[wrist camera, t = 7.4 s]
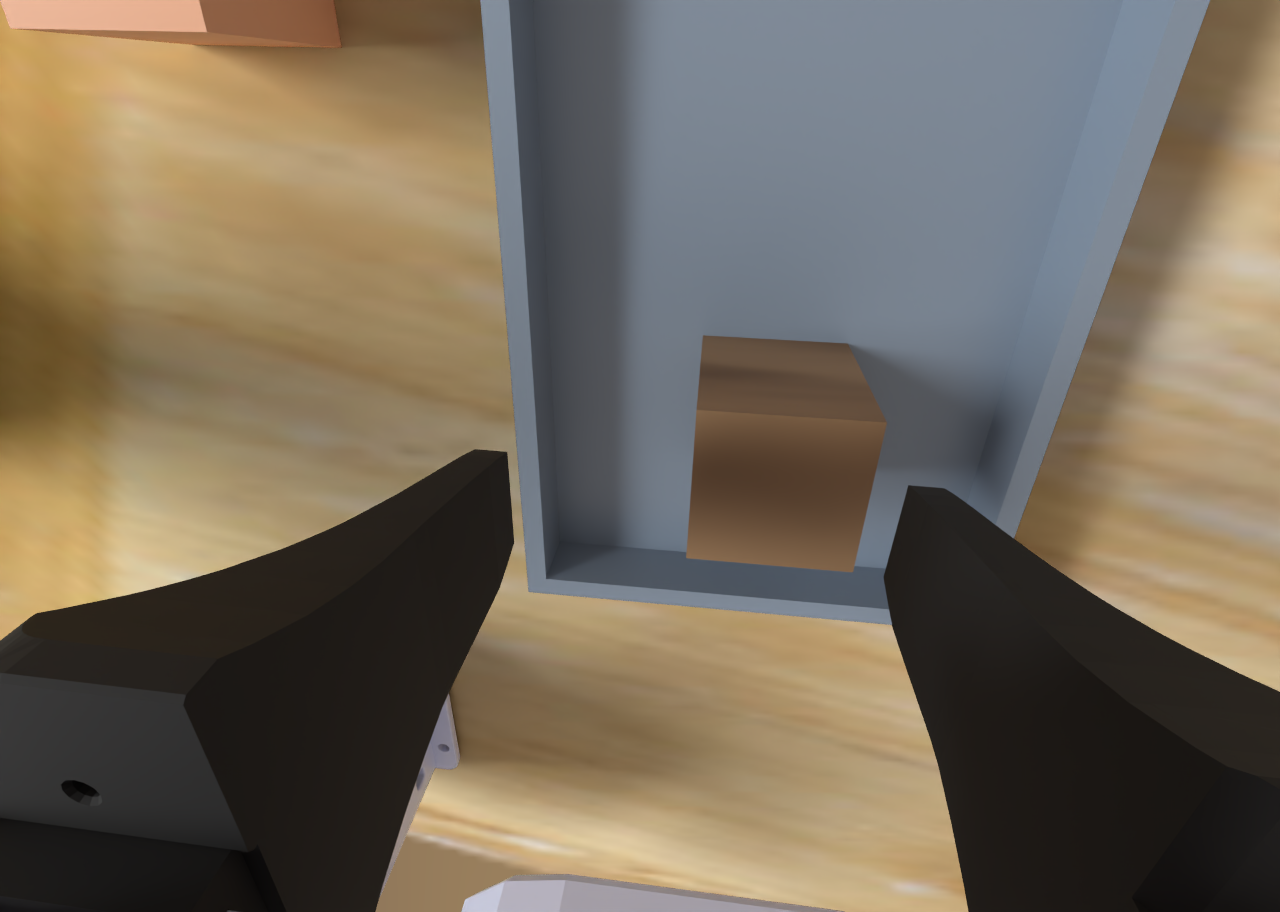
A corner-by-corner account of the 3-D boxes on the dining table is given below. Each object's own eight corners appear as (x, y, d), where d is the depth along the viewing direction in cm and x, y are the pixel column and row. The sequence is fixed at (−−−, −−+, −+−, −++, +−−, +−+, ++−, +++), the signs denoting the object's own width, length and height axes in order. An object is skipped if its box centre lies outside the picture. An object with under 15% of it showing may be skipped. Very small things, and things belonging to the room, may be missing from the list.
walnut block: (824, 468, 20) (852, 572, 16) (694, 459, 20) (686, 558, 16) (848, 343, 18) (887, 422, 14) (702, 335, 18) (696, 410, 14)
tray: (954, 579, 22) (979, 632, 20) (546, 545, 23) (528, 591, 21) (1220, -248, 12) (1326, -321, 10) (498, -233, 14) (456, -294, 11)
